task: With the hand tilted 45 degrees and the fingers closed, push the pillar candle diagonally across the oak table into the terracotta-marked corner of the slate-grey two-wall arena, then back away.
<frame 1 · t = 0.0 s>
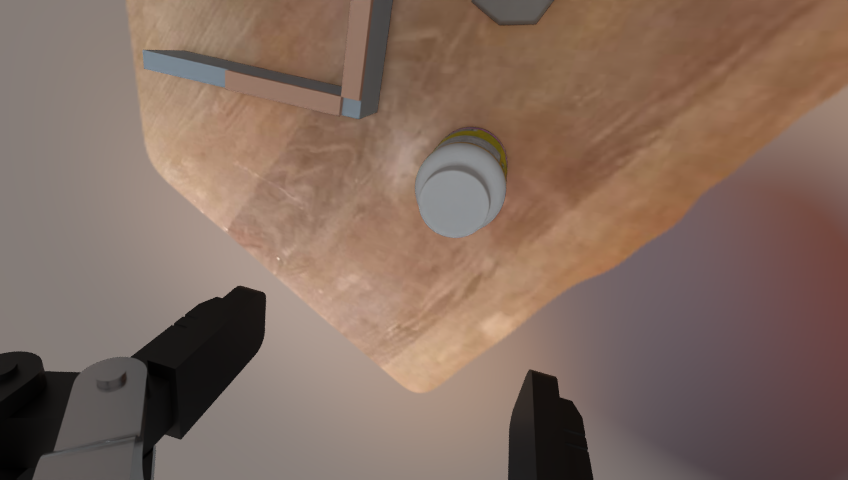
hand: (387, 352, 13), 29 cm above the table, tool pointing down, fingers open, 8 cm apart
corner arena: (363, 91, 39), on the table
supplement bottle: (471, 161, 40), on the table
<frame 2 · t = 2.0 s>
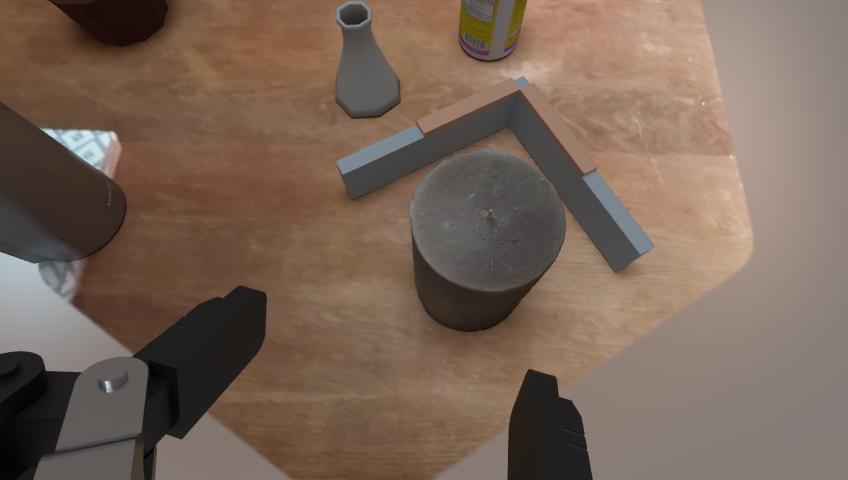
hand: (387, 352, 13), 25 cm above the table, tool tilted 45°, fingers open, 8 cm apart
muffin: (130, 18, 50), on the table
flask: (368, 92, 46), on the table
corner arena: (509, 125, 45), on the table
pillar candle: (467, 277, 39), on the table
supplement bottle: (486, 41, 49), on the table
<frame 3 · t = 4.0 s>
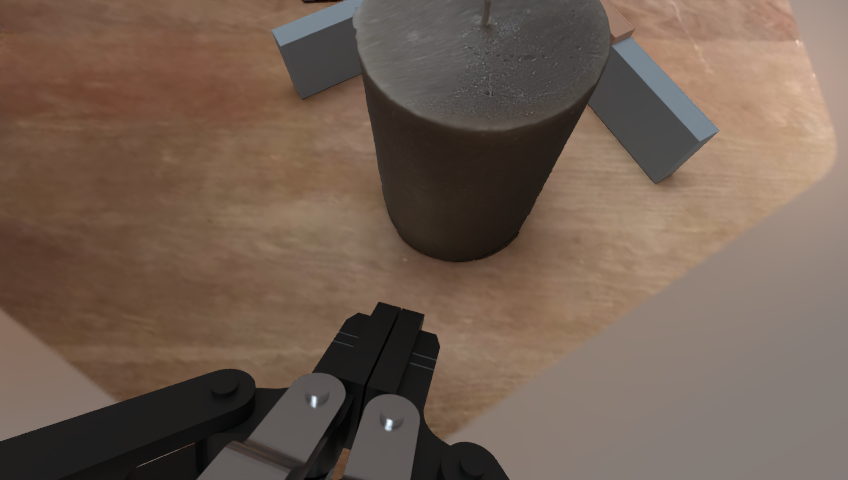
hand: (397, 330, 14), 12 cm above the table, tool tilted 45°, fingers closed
corner arena: (508, 9, 34), on the table
pillar candle: (456, 193, 29), on the table
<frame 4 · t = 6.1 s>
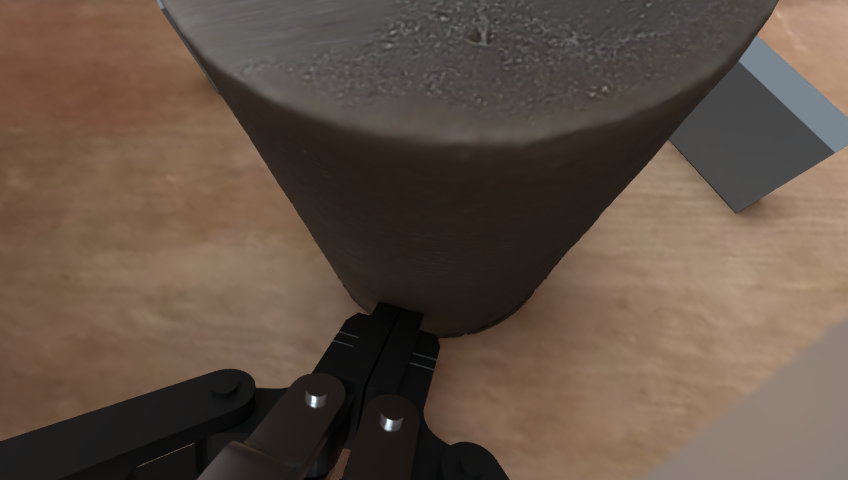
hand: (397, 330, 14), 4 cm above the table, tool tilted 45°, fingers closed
pillar candle: (439, 227, 19), on the table, touching gripper
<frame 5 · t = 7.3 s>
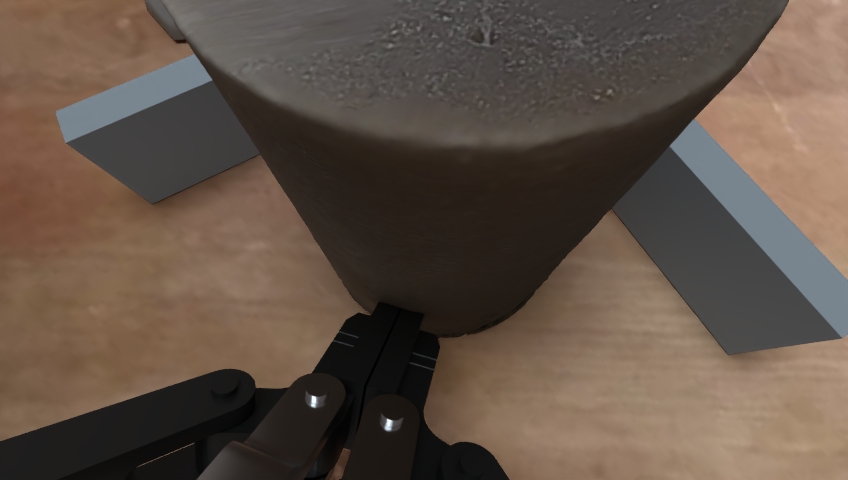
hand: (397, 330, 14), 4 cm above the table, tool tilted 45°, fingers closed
corner arena: (484, 49, 23), on the table
pillar candle: (440, 226, 19), on the table, touching gripper
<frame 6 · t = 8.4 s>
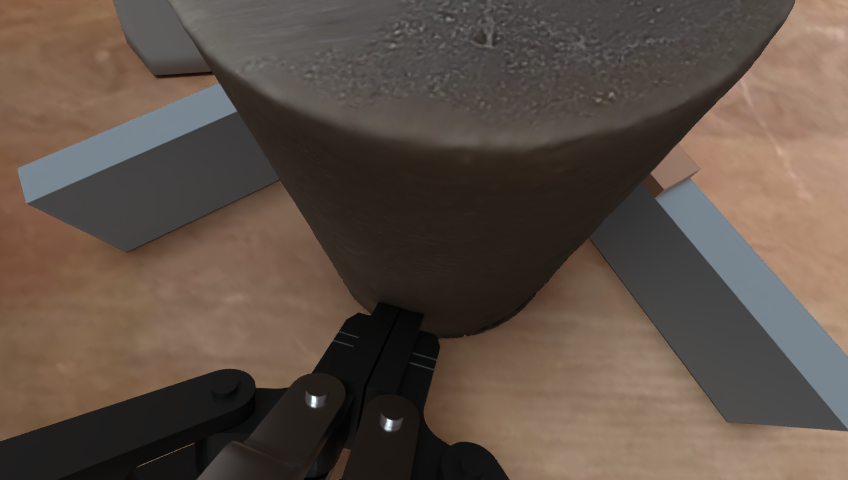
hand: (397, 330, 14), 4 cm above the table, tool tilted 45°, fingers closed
flask: (199, 29, 24), on the table
corner arena: (476, 86, 22), on the table
pillar candle: (442, 227, 19), on the table, touching gripper
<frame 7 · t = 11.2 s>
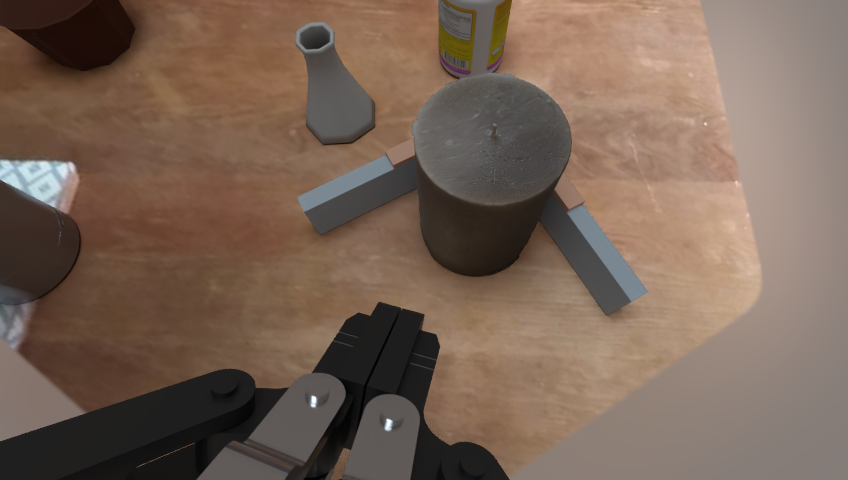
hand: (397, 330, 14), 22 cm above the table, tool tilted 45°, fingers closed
muffin: (95, 41, 48), on the table
flask: (341, 116, 43), on the table
corner arena: (491, 151, 41), on the table
pillar candle: (473, 224, 39), on the table
supplement bottle: (469, 58, 46), on the table
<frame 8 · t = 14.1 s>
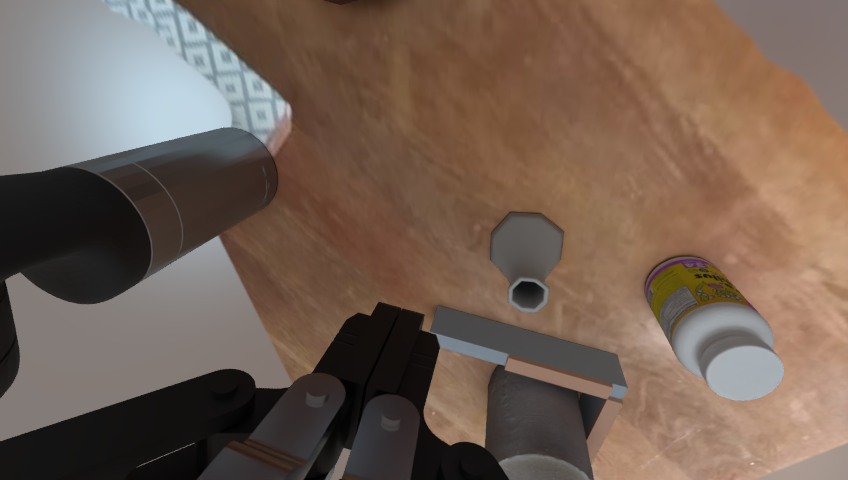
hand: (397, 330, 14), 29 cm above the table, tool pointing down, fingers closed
flask: (525, 244, 43), on the table
corner arena: (597, 361, 46), on the table
pillar candle: (532, 385, 49), on the table
supplement bottle: (680, 284, 41), on the table
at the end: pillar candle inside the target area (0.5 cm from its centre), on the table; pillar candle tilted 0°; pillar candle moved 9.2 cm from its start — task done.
